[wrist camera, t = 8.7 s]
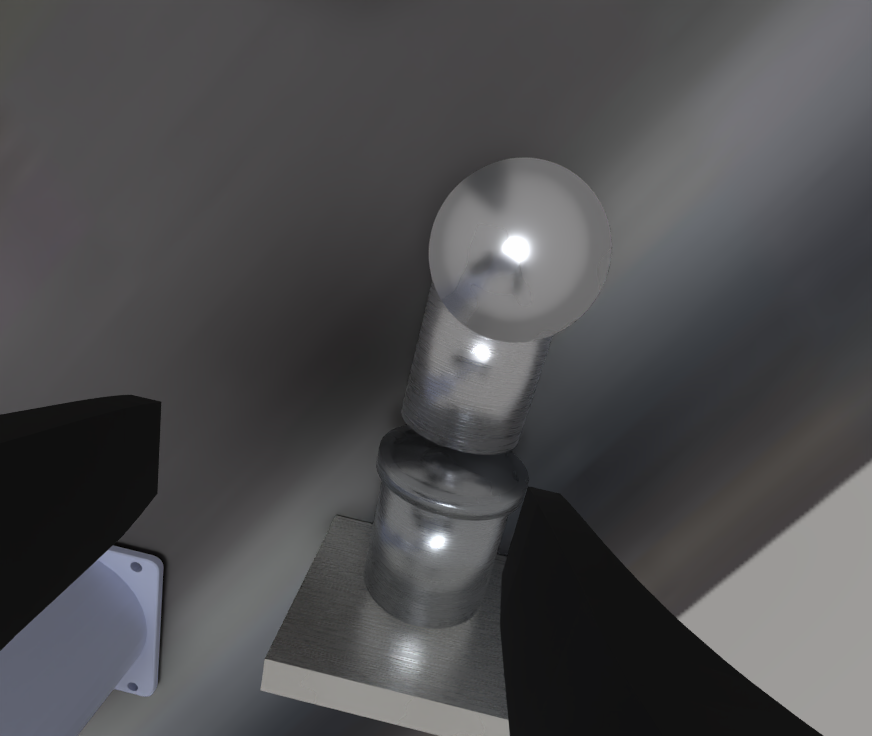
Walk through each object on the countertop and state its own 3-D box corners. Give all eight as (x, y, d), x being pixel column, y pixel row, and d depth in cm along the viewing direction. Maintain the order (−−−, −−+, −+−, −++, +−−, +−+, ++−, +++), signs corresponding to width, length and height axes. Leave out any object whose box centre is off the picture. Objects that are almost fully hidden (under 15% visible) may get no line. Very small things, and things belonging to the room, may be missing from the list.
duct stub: (519, 583, 21) (534, 759, 14) (332, 537, 21) (260, 690, 15) (562, 451, 19) (602, 584, 12) (355, 403, 19) (285, 507, 13)
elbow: (465, 161, 16) (453, 136, 11) (586, 192, 16) (639, 183, 11) (410, 387, 19) (376, 465, 13) (515, 415, 19) (527, 504, 13)
